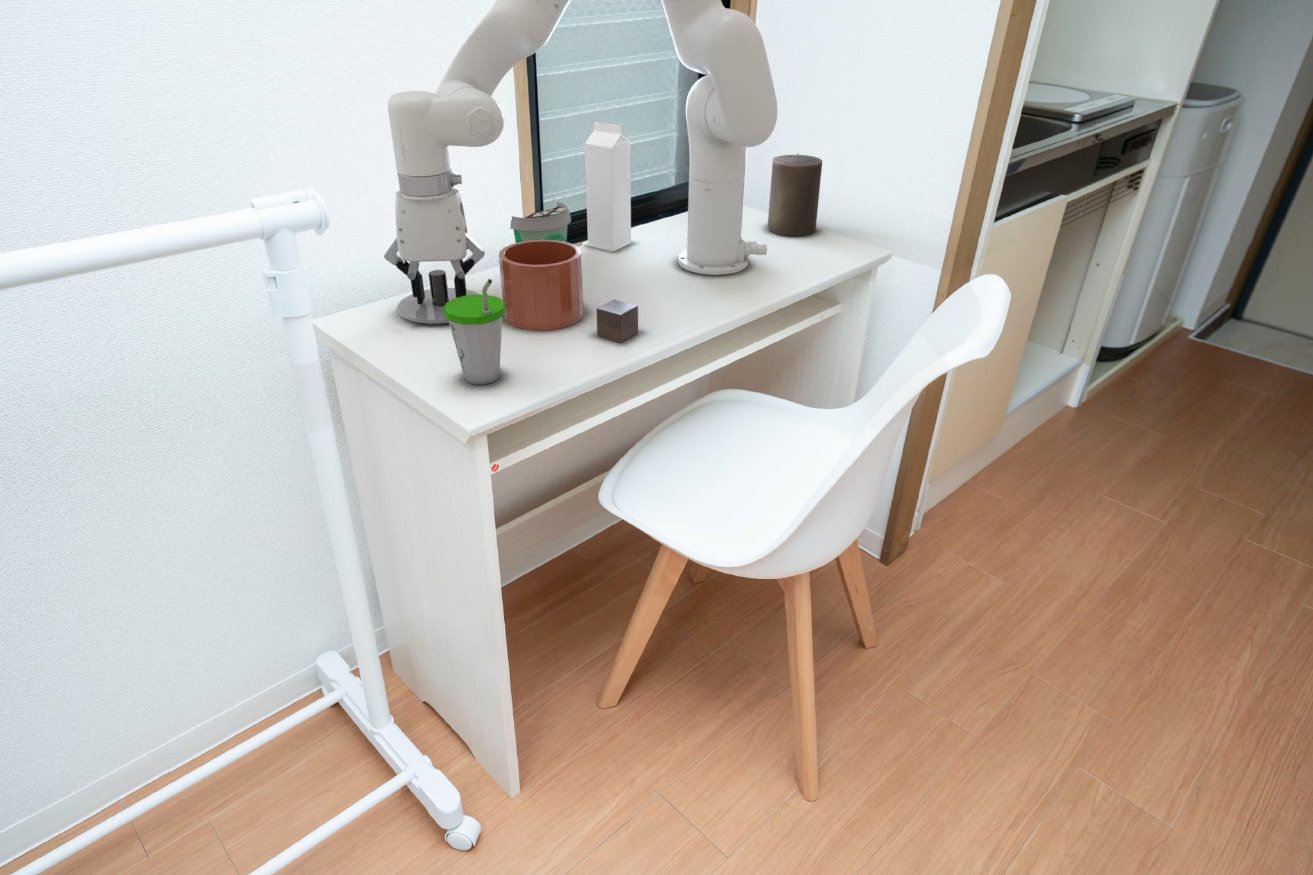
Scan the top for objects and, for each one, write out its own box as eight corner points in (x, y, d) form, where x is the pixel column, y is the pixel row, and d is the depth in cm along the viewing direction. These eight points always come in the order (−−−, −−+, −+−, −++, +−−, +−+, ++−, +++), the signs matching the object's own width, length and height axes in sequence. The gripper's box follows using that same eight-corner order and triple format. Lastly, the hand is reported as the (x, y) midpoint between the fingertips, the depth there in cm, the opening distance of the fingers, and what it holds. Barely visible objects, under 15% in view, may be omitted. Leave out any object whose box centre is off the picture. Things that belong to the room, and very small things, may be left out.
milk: (613, 252, 158) (611, 129, 146) (587, 246, 161) (583, 124, 149) (631, 243, 162) (631, 123, 151) (605, 237, 165) (603, 119, 153)
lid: (487, 293, 139) (483, 257, 136) (481, 325, 128) (477, 287, 125) (405, 295, 138) (399, 259, 135) (392, 328, 127) (385, 289, 124)
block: (614, 326, 129) (614, 299, 126) (638, 333, 126) (638, 305, 124) (597, 336, 125) (596, 308, 123) (620, 343, 123) (620, 315, 121)
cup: (451, 367, 116) (438, 262, 108) (509, 362, 118) (499, 258, 110) (453, 393, 110) (438, 284, 102) (514, 388, 111) (504, 279, 103)
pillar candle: (813, 238, 166) (822, 160, 158) (763, 234, 168) (769, 156, 160) (817, 224, 174) (825, 148, 166) (769, 220, 176) (775, 145, 168)
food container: (539, 281, 144) (535, 223, 139) (513, 273, 148) (509, 216, 142) (587, 262, 153) (585, 207, 148) (562, 255, 156) (559, 201, 151)
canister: (582, 298, 138) (579, 238, 133) (584, 329, 128) (581, 265, 122) (506, 300, 137) (501, 240, 132) (502, 331, 126) (496, 267, 121)
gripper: (487, 176, 127) (497, 290, 136) (370, 177, 125) (388, 293, 135) (483, 189, 121) (494, 308, 130) (360, 191, 119) (380, 311, 128)
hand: (440, 299), depth 132 cm, fingers open, 5 cm apart
